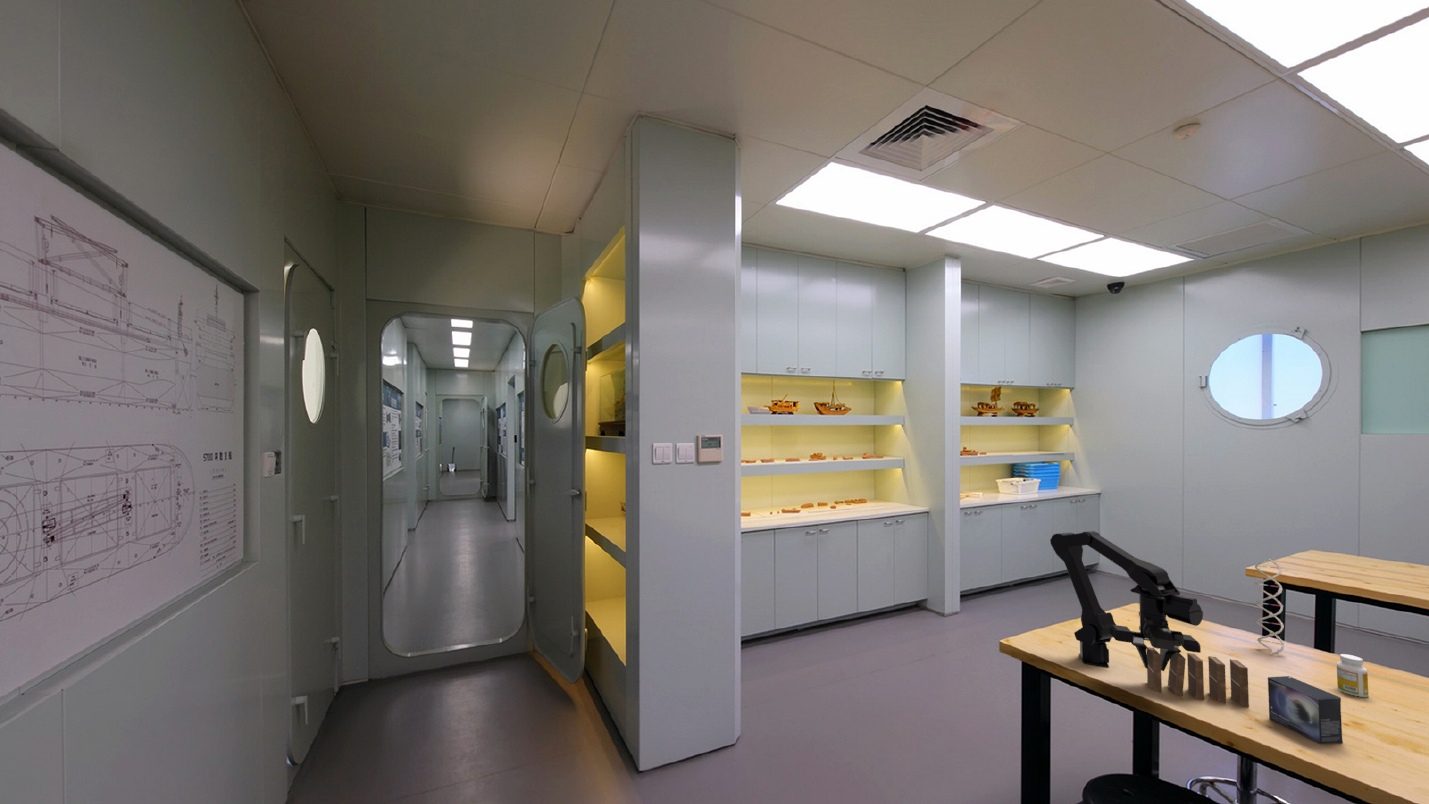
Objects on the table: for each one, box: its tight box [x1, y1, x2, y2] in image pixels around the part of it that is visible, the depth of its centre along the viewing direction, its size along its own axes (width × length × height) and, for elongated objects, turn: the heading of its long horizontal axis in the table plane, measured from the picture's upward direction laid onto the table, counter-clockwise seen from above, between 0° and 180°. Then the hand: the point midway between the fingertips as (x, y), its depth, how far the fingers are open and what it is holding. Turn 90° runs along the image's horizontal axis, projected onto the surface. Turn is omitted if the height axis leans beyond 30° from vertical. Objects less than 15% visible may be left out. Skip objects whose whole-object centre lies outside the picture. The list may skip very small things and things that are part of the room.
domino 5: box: [1229, 658, 1250, 708], centre depth 137 cm, size 2×5×10 cm, turn 156°
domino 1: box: [1146, 646, 1163, 693], centre depth 145 cm, size 2×5×10 cm, turn 157°
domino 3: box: [1186, 652, 1205, 700], centre depth 141 cm, size 2×5×10 cm, turn 156°
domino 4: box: [1208, 655, 1227, 704], centre depth 139 cm, size 2×5×10 cm, turn 156°
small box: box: [1267, 675, 1343, 745], centre depth 125 cm, size 11×6×10 cm, turn 5°
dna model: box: [1254, 557, 1285, 656], centre depth 169 cm, size 7×6×30 cm
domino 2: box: [1167, 652, 1187, 697], centre depth 143 cm, size 2×5×10 cm, turn 156°
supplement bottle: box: [1336, 653, 1369, 698], centre depth 143 cm, size 5×5×10 cm
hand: (1154, 669), depth 145 cm, fingers open, 3 cm apart
